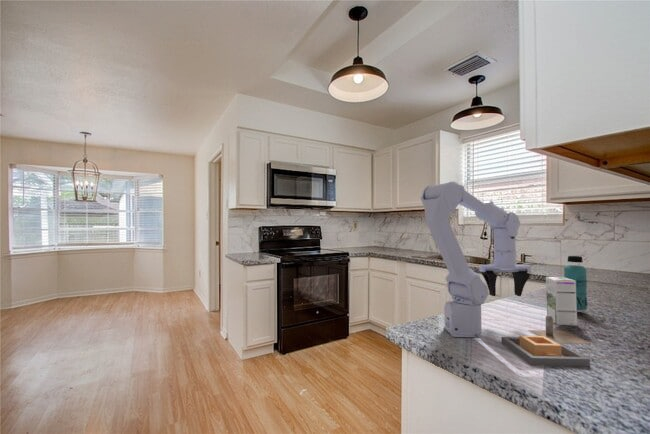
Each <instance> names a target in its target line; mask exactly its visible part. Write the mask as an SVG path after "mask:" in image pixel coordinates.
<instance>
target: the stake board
mask: <svg viewBox="0 0 650 434" xmlns="http://www.w3.org/2000/svg"><path fill="white" fill-rule="evenodd" d="M528 332H530V333H532V334H533V335H534V336H545V337H547V338H551V339H553V340H555V341H557V342H559V343H561V344H575V345H576V344H582V345H583V344H584V345H585V344H587V345H592V343H591V342H589V341H587V340H585V339H583V338H580V337H578V336H576V335H574V334H573V333H570V332H567V331H566V330H554V323H553V318H552V316H550V315H548V316H547V315H546V316H545V330H540V329H538V330H537V329H533V330H532V329H529V330H528Z"/></svg>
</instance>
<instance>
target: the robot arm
mask: <svg viewBox="0 0 650 434" xmlns="http://www.w3.org/2000/svg"><path fill="white" fill-rule="evenodd" d="M420 201H421V203H422V205H423V207H424V218H425V223H426V225H427V226H428V229H429V231H430V233H431V235H432V238H433V240H434V242H435V244H436V246H437V248H438V251H439V254H440V255H441V258H442V260H443V262H444V264H445V267H446V269H447V270H448V273H447V275H446V277H445V281H446V283H447V292H448V294H449V295H450V296H451V301H445V302H444V308H443V312H444V313H443V314H444V316H443V319H444V320H443V321H444V325H443V328H444V329H445V330H446V331H447V332H448V334H450V335H451V336H452V337H453V338H454V337H455V338H479V336H478V335H479V334H482V330H483V329H482V305H484V303H485V301H486V300H487V298H488V295H490V296H491V297H496V296H497V295H496V290H497V289H496V288H497V287H496V283H497V279H498V274H497V273H499V272H500V273H501V272H502V273H504V272H505V273H507V272H511V273H512V274H511V275H512V277H513V285H514V288H513V289H514V295H515V296H517V297H522V293H523V290H524V288H525V286H526V283H527V282H528V280H529V278H530V277H531V274H530V273H532V266H531V265H528V264H517V259H516V257H517V256H516V253H517V251H516V249H517V247H516V246H517V245H516V237H517V236H518V231H519V228H520V227H521V226H520V225H521V221H520V218H519V216H518V215H517V214H516V213H515V212H512V211H509V212H508V211H506V210H505V209H504V208H503V207H500V206H498V205H496V204H495V203H494V201H492V200H485V201H481V200H480V199H478V198H477V197H476V196H474V195H473V194H471V193H470V192H468V191H467V190H466V188H465V186H464V185H462V184H459V183H458V182H457V181H453V180H452V181H448V182H444V183H437V184H433V185H432V184H431V185H427V186H426V187H425V188H424V190H423V191H422V194H421V197H420ZM459 205H460V206H462V207H464V208H466V209H467V210H470V211H472V212H474V215H475V217H476V218H477V219H479V220H480V221H482V222H485V223H486V224H488V226H489V228H490V229H491V230H492V231H493V263H492V264H479V266H478V267H479V269H478V270H479V272H480V273H481V275H482V276H483V279H484V281H485V282H484V281H483V280H482V279H481V277H480V275H479V274H478V273H477V272H475V271H474V270H472V269H471V268H470V266H469V264H468V261H467V259H466V257H465V254H464V252H463V250H462V248H461V246H460V244H459V241H458V239H457V237H456V234H455V232H454V230H453V228H452V226H451V223H450V221H449V219H450V216H452V214H453V213H454V212H455V210H456V209H457V207H458V206H459Z"/></svg>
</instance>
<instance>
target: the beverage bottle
mask: <svg viewBox="0 0 650 434" xmlns="http://www.w3.org/2000/svg"><path fill="white" fill-rule="evenodd" d="M567 262H568V263H569V262H570V263H579V264H580V263H583V257H582V256H580V255H568V256H567ZM587 271H588V270H587V268H586V267H584V265H577V264H567V265H565V266H564V267H563V274H564V275H563V277H564V278H568V279H571V280H575V281H576V304H577V311H587V309H588V293H587V292H588V291H587V287H588V285H587V282H588V281H587V280H588V279H587Z"/></svg>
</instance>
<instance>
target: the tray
mask: <svg viewBox="0 0 650 434" xmlns="http://www.w3.org/2000/svg"><path fill="white" fill-rule="evenodd" d="M549 339H550V340H552V341H554V342H556V343H558V344H560V345H561V346H562V355H565V356H562V357H558V356H533V355H531V354H530V353H528V352H527V351H526V350H524V349H523V348H521V347H520V336H501V344H502V345H504V346H505V347H506V348H508V349H509V350H511V351H512V352H513V353H515V355H518V357H520V358H522V359H523V360H524V361H526V362H527V363H528V364H530V365H531V366H549V367H550V366H552V367H553V366H554V367H557V366H559V367H591V359H590V358H589V357H586V355H583V354H581V353H579V352H578V351H576V350H574V349H572V348H570V347H568V346H567V345H565V344H564V343H559V342H557V341H555V340H553V339H551V338H549ZM567 371H569V370H567Z"/></svg>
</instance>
